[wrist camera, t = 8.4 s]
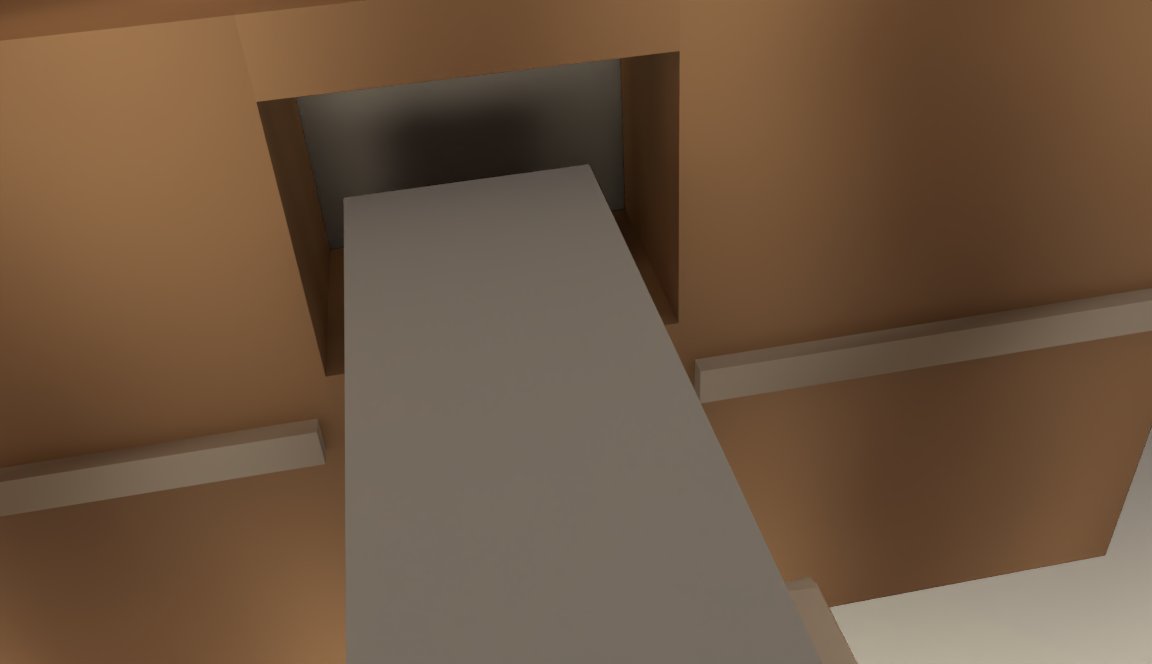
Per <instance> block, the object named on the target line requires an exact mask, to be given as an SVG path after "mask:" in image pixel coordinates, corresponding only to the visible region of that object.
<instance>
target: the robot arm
mask: <svg viewBox="0 0 1152 664" xmlns="http://www.w3.org/2000/svg"><path fill="white" fill-rule="evenodd" d="M784 583H785V585H786V587H787V589H788V591H789V594H790V596H791V598H792V600H793V602H794V604H795V606H796V609H797V611H798V613H799V615H800V617H801V619H802V621H803V624H804V626H805V628H806V630H807V632H808V634H809V636H810V639H811V641H812V643H813V645H814V647H815V649H816V651H817V654H818V656H819V658H820V660H821V662H822V664H857V662H856V660H855V658H854V656H853V654H852V652H851V650H850V648H849V646H848V644H847V642H846V640H845V638H844V636H843V634H842V632H841V630H840V628H839V626H838V624H837V622H836V620H835V618H834V616H833V614H832V612H831V610H830V608H829V606H828V604H827V602H826V600H825V598H824V596H823V594H822V592H821V590H820V588H819V587H818V585H817V583H816V582H815V581H813V580H812V579H811V578H810V577H805V578H800V579H795V580H790V581H785V582H784Z"/></svg>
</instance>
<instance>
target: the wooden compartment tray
mask: <svg viewBox="0 0 1152 664" xmlns="http://www.w3.org/2000/svg"><path fill="white" fill-rule="evenodd" d="M617 58H621V88H622V121H623V153H624V186H625V210H618V211H611V212H612V214H613V217H614V219H615V221H616V223H617V225H618V227H619V229H620V232H621V234H622V236H623V238H624V240H625V242H626V244H627V247H628V249H629V251H630V253H631V255H632V257H633V259H634V262H635V264H636V266H637V268H638V270H639V272H640V274H641V277H642V279H643V281H644V283H645V285H646V287H647V289H648V292H649V294H650V296H651V298H652V300H653V302H654V304H655V307H656V309H657V311H658V313H659V315H660V317H661V319H662V322H663V324H664V326H665V328H666V330H667V332H668V334H669V337H670V339H671V341H672V343H673V345H674V347H675V349H676V352H677V354H678V356H679V358H680V360H681V362H682V364H683V367H684V369H685V371H686V373H687V375H688V377H689V379H690V382H691V384H692V386H693V388H694V390H695V392H696V394H697V397H698V399H699V401H700V403H701V405H702V407H703V409H704V412H705V414H706V416H707V418H708V420H709V422H710V424H711V427H712V429H713V431H714V433H715V435H716V437H717V439H718V441H719V444H720V446H721V448H722V450H723V452H724V454H725V456H726V459H727V461H728V463H729V465H730V467H731V469H732V471H733V474H734V476H735V478H736V480H737V482H738V484H739V486H740V489H741V491H742V493H743V495H744V497H745V499H746V501H747V504H748V506H749V508H750V510H751V512H752V514H753V516H754V519H755V521H756V523H757V525H758V527H759V529H760V531H761V534H762V536H763V538H764V540H765V542H766V544H767V546H768V549H769V551H770V553H771V555H772V557H773V559H774V561H775V564H776V566H777V568H778V570H779V572H780V574H781V576H782V579H783V581H784V582H785V581H790V580H795V579H800V578H805V577H810V578H811V579H812V580H813V581H815V582H816V583H817V585H818V587H819V588H820V590H821V592H822V594H823V596H824V598H825V600H826V602H827V604H828V606H829V607H833V606H838V605H843V604H849V603H854V602H859V601H865V600H870V599H875V598H881V597H886V596H891V595H897V594H902V593H907V592H913V591H918V590H923V589H928V588H934V587H939V586H944V585H950V584H955V583H960V582H966V581H971V580H976V579H982V578H987V577H992V576H998V575H1003V574H1008V573H1014V572H1019V571H1024V570H1029V569H1035V568H1040V567H1045V566H1051V565H1056V564H1061V563H1067V562H1072V561H1077V560H1083V559H1088V558H1093V557H1099V556H1104V555H1105V554H1106V552H1107V549H1108V546H1109V543H1110V541H1111V538H1112V535H1113V532H1114V529H1115V527H1116V524H1117V521H1118V518H1119V516H1120V513H1121V510H1122V507H1123V505H1124V502H1125V499H1126V496H1127V494H1128V491H1129V488H1130V485H1131V482H1132V480H1133V477H1134V474H1135V471H1136V469H1137V466H1138V463H1139V460H1140V458H1141V455H1142V452H1143V449H1144V447H1145V444H1146V441H1147V438H1148V435H1149V433H1150V430H1151V427H1152V0H0V664H346V548H345V354H344V248H342V249H335V250H330V248H329V244H328V239H327V235H326V230H325V226H324V222H323V217H322V213H321V209H320V204H319V200H318V195H317V191H316V187H315V182H314V178H313V173H312V169H311V165H310V160H309V156H308V152H307V147H306V143H305V138H304V134H303V130H302V125H301V121H300V117H299V112H298V108H297V103H296V99H295V97H301V96H309V95H318V94H326V93H334V92H343V91H351V90H359V89H368V88H376V87H384V86H393V85H401V84H409V83H418V82H426V81H434V80H443V79H451V78H459V77H468V76H476V75H484V74H492V73H501V72H509V71H517V70H526V69H534V68H542V67H551V66H559V65H567V64H576V63H584V62H592V61H601V60H609V59H617Z"/></svg>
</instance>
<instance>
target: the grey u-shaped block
mask: <svg viewBox="0 0 1152 664" xmlns="http://www.w3.org/2000/svg"><path fill="white" fill-rule="evenodd" d="M344 354H345V548H346V664H822V662H821V660H820V658H819V656H818V654H817V651H816V649H815V647H814V645H813V643H812V641H811V639H810V636H809V634H808V632H807V630H806V628H805V626H804V624H803V621H802V619H801V617H800V615H799V613H798V611H797V609H796V606H795V604H794V602H793V600H792V598H791V596H790V594H789V591H788V589H787V587H786V585H785V583H784V581H783V579H782V576H781V574H780V572H779V570H778V568H777V566H776V564H775V561H774V559H773V557H772V555H771V553H770V551H769V549H768V546H767V544H766V542H765V540H764V538H763V536H762V534H761V531H760V529H759V527H758V525H757V523H756V521H755V519H754V516H753V514H752V512H751V510H750V508H749V506H748V504H747V501H746V499H745V497H744V495H743V493H742V491H741V489H740V486H739V484H738V482H737V480H736V478H735V476H734V474H733V471H732V469H731V467H730V465H729V463H728V461H727V459H726V456H725V454H724V452H723V450H722V448H721V446H720V444H719V441H718V439H717V437H716V435H715V433H714V431H713V429H712V427H711V424H710V422H709V420H708V418H707V416H706V414H705V412H704V409H703V407H702V405H701V403H700V401H699V399H698V397H697V394H696V392H695V390H694V388H693V386H692V384H691V382H690V379H689V377H688V375H687V373H686V371H685V369H684V367H683V364H682V362H681V360H680V358H679V356H678V354H677V352H676V349H675V347H674V345H673V343H672V341H671V339H670V337H669V334H668V332H667V330H666V328H665V326H664V324H663V322H662V319H661V317H660V315H659V313H658V311H657V309H656V307H655V304H654V302H653V300H652V298H651V296H650V294H649V292H648V289H647V287H646V285H645V283H644V281H643V279H642V277H641V274H640V272H639V270H638V268H637V266H636V264H635V262H634V259H633V257H632V255H631V253H630V251H629V249H628V247H627V244H626V242H625V240H624V238H623V236H622V234H621V232H620V229H619V227H618V225H617V223H616V221H615V219H614V217H613V214H612V212H611V210H610V208H609V206H608V204H607V202H606V199H605V197H604V195H603V193H602V191H601V189H600V187H599V184H598V182H597V180H596V178H595V176H594V174H593V172H592V169H591V167H590V165H589V164H587V165H579V166H572V167H565V168H557V169H550V170H543V171H535V172H528V173H521V174H513V175H506V176H499V177H492V178H484V179H477V180H470V181H462V182H455V183H448V184H440V185H433V186H426V187H418V188H411V189H404V190H396V191H389V192H382V193H375V194H367V195H360V196H353V197H345V198H344Z"/></svg>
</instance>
